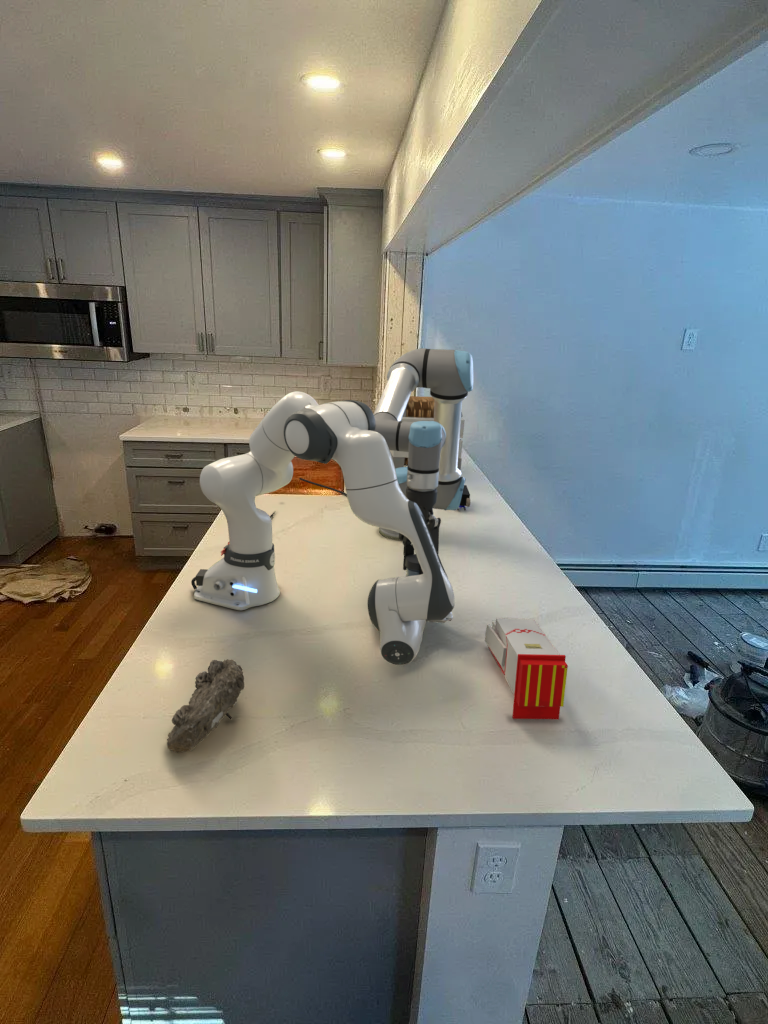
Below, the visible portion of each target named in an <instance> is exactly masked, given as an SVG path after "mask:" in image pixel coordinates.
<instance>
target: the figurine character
mask: <svg viewBox="0 0 768 1024" xmlns="http://www.w3.org/2000/svg"><path fill="white" fill-rule="evenodd" d="M466 507H468V508H470V507H471V493H470V491H469V488H468V486H467V485H466V484H464V488H463V493H462V497H461V501H460V505H459V508H458V509H457V510H456V511H459V510H460V509H463V511H465V512H466V511H467V508H466Z"/></svg>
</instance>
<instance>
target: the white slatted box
mask: <svg viewBox="0 0 768 1024" xmlns="http://www.w3.org/2000/svg"><path fill="white" fill-rule="evenodd" d="M434 403H435V400H434V399H433V398H432V396H415V395H414V396H413V395H412V396H411V395H410V398H409V400H408V403H407V406H406V409H405V411H404V414H403V417H402V420H401V421H403V422H417V421H434ZM464 429H465V419H464V418H463V411H461V424H460V438H459V451H458V465H457V468H458V469H459V470H460V471H461V472H462V461H463V460H462V453H463V442H464V441H463V440H462V439H463V438H464V431H465V430H464ZM390 453H391V456H392V459H393V463H394V466H395V469H396V468H400V467H405V466H406V467H408V452H403V451H393V450H390Z"/></svg>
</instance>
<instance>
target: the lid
mask: <svg viewBox="0 0 768 1024" xmlns="http://www.w3.org/2000/svg"><path fill="white" fill-rule="evenodd" d="M405 566H406V567H407V568H409V569H412V570H419V569H420V563H419V560H418V558H417V555H416V553H414V554H411V555H408V556H406V562H405Z"/></svg>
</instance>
